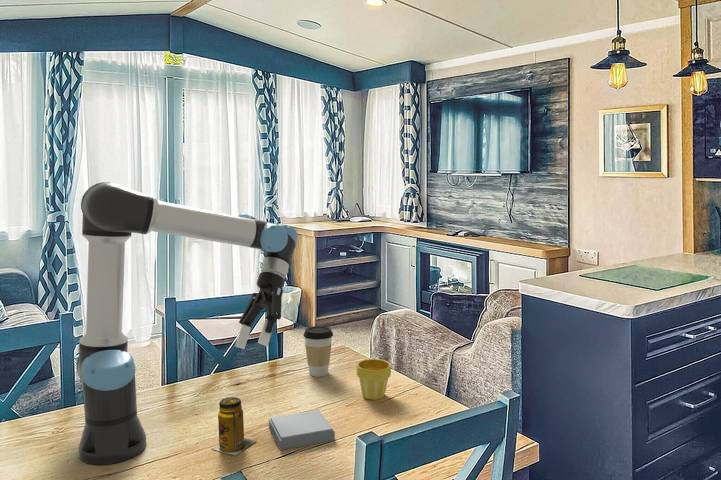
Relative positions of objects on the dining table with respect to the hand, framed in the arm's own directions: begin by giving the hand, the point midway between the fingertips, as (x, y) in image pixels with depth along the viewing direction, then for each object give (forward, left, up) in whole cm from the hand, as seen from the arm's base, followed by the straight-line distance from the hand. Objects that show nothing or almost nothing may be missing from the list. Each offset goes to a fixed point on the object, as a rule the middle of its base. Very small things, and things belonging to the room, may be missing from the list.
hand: (250, 346), depth 160 cm
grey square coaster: (+9, -17, -19) cm, 27 cm away
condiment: (-8, -17, -20) cm, 27 cm away
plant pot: (+36, 0, -20) cm, 41 cm away
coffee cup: (+26, +24, -20) cm, 41 cm away
